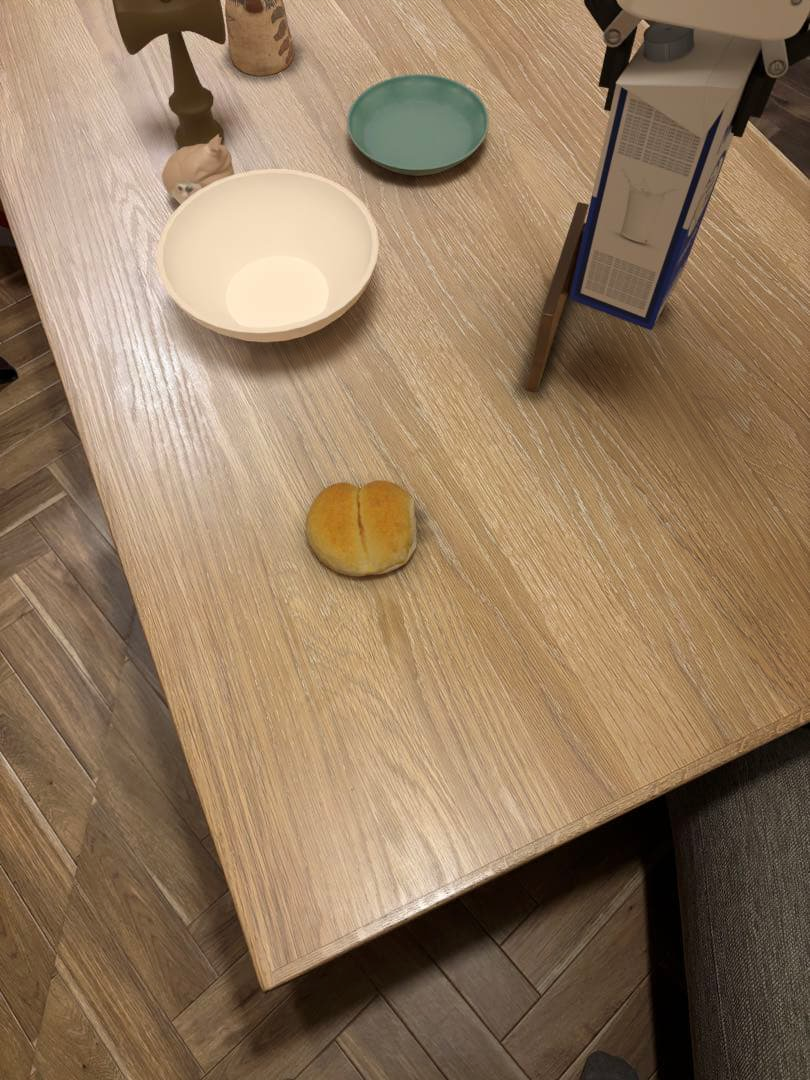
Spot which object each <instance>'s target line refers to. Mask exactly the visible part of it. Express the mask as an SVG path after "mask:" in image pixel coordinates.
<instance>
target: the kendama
mask: <svg viewBox="0 0 810 1080" xmlns="http://www.w3.org/2000/svg"><path fill="white" fill-rule="evenodd" d="M111 1H112V7H113V12H114V16H115V17H114V18H115V20H116V24H117V28H118V31H119V34H120V38H121V40H122V43H123V45H124V47H125V50H126V51H127V53H128V54H129V55H131V56H134V55H137V54H138V53H139V52H140V51H142V50H143V49H144V48H145V47H146V46H148V44H150V43H151V42H153V41H154V40H155V39H156V38H158V37H161V36H163V35H167V42H168V46H169V47H168V48H169V53H170V61H171V70H172V78H173V92H172V93H171V95H170V96H169V98H168V107H169V109H170V111H171V112H172V113H173V114H175V115H176V116H177V119H178V123H179V124H178V126H177V127H176V129H175V135H174V140H175V141H176V144H177V146H178V147H179V149H181V148H182V147H188V146H194V145H197V144H208V143H209V141H211V140H212V139H213V138H214V137H215V136H217V135H218V134H219V137H222V138H221V142H220V144H221V145H222V143H223V140H224V137H225V136H224V135H225V131H224V128H223V126H222V124H221V123H220V121H218V120H217V119H215V118H214V116H213V112H212V108H213V106H214V100H215V97H214V95H213V94H212V93H213V92H212V91H211V90H210V89H208V88H206V87H204V86H203V85H202V83H201V81H200V78H199V76H198V74H197V72H196V69H195V67H194V64H193V61H192V58H191V56H190V53H189V51H188V47H187V44H186V42H185V39H184V35H183V33H185V32H190V33H194V34H197V35H199V36H201V37H203V38H206V39H208V40H210V41H211V42H213V43H216V44H218V45H225V44H226V41H227V37H226V36H227V32H226V31H227V30H226V22H225V18H224V12H223V8H222V7H223V6H222V2H221V0H111Z"/></svg>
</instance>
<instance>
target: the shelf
mask: <svg viewBox="0 0 810 1080" xmlns="http://www.w3.org/2000/svg"><path fill="white" fill-rule="evenodd" d="M589 206H590V203H589V204H588V203H584V202H580V201H578V202H577V203H576V206H575V209H574V212H573V215H572V218H571V221H570V225H569V228H568V231H567V234H566V237H565V240H564V243H563V246H562V248H561V253H560V255H559V258H558V262H557V264H556V268H555V270H554V274H553V276H552V277H553V278H552V280H551V282H550V286H549V288H548V292H547V295H546V298H545V301H544V304H543V307H542V310H541V313H540V318H539V324H538V328H537V332H536V337H535V338H536V339H535V343H534V348H533V353H532V358H531V363H530V368H529V373H528V378H527V382H526V388H525V389H526V391H530V392H535V393H537V392H538V390H539V387H540V383H541V380H542V377H543V374H544V371H545V368H546V365H547V361H548V358H549V354H550V352H551V348H552V345H553V343H554V339H555V335H556V332H557V329H558V327H559V323H560V319H561V316H562V313H563V310H564V307H565V303H566V300H567V297H568V296H570V293H571V288H572V284H573V279H574V274H575V270H576V265H577V261H578V256H579V252H580V247H581V243H582V238H583V233H584V229H585V224H586V220H587V215H588V211H589ZM666 305H667V304H666ZM666 305H665V306H664V308H663V310H662V312H661V314H660V316H659V318H660V317H661V318H662V316H663V313H664V311H665V308H666Z"/></svg>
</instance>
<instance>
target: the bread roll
mask: <svg viewBox="0 0 810 1080" xmlns="http://www.w3.org/2000/svg"><path fill="white" fill-rule="evenodd" d="M417 532H418V531H417V518H416V509H415V498H413V497H411V496H410V494H408V492H407V491H406V490H405V489H404V488H403V487H401V486H400V485H398V484H396V483H394V482H392V481H387V480H374V481H372V482H368V483H367V484H365V485H364V486H361V487H359V486H356V485H354V484H352V483H349V482H336V483H333V484H331V485H329V486H327V487H326V488H324V489H323V490H322V491H321V492H319V493H318V494H317V496H316V497H315V498H314V500H312V503H311V506H310V507H309V510H308V512H307V515H306V518H305V534H306V538H307V541H308V543H309V545H310V547H311V549H312V550H313V553H314V554H315V555H316V556H317V558H318V559H319V560H320V561H321V562H322V563H323V564H324V565H326V567H328V568H329V569H330V570H332V571H334V572H337V573H339V574H342V575H346V576H350V577H365V576H370V575H384V574H388V573H390V572H392V571H395V570H397V569H398V568H399V569H400V567H403V565H405V564H407V563H408V561H409V560H410V559H411V557H412V556H413V554H414V551H416V549H417Z"/></svg>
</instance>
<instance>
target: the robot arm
mask: <svg viewBox="0 0 810 1080" xmlns="http://www.w3.org/2000/svg"><path fill="white" fill-rule="evenodd" d="M583 4H584V6H585V8H586V10H587V11H588V12H589V14H590V15H591V17H592V18H593V19H594V21H595V23H596V24H597V26H598V27H599V28H600V30H601V32H602V33H603V34H602V40H603V43H604V45H606V47H605V52H604V57H603V62H602V66H601V72H600V75H599V81H598V86H597V87H599V88H604V89H607V93H606V98H605V103H604V107H603V111H608V112H610V111H611V106H612V102H613V97H614V92H615V88H616V82H617V80H618V79H619V77H620V76H621V74H622V73H623V71H624V70H625V69H626V67H627V65H628V64H629V62H630V61H631V57H632V53H633V52H632V51H633V48H634V44H635V40H636V35H637V31H638V25H639V24H641V22H642V21H643V20H647V21H652V22H655V23H656V22H660V23H665V24H671V25H676V26H681V27H686V28H692V29H697V30H703V31H708V32H714V33H719V34H725V35H730V36H736V37H742V38H748V39H754V40H760V44H761V50H762V51H761V54H760V56H759V58H758V59H757V61H756V63H755V65H754V68H753V70H752V73H751V76H750V78H749V81H748V84H747V86H746V89H745V92H744V94H743V97H742V100H741V102H740V105H739V108H738V111H737V113H736V116H735V119H734V121H733V124H732V128H731V133H734V134H733V137H737V138H743V136H744V134H745V131H746V128H747V126H748V123H749V120H750V118H757V119H761V118H762V116H763V114H764V111H765V108H766V106H767V104H768V101H769V99H770V97H771V94H772V91H773V90H774V86H775V84H776V81H777V79H779V78H781V77H783V76H784V75H785V74H787V71H788V70H789V67H792V66H794V65H795V64H797V63H799V62H801V61H803V60H805V59H807V58H809V57H810V16H809V13H810V0H583ZM808 16H809V17H808Z"/></svg>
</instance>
